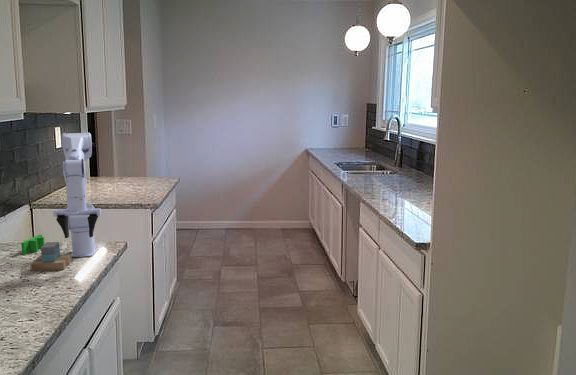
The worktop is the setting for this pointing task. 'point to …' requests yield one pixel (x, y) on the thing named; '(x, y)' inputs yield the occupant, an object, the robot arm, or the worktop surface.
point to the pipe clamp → (32, 244)
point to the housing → (50, 252)
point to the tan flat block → (51, 263)
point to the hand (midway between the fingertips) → (79, 237)
